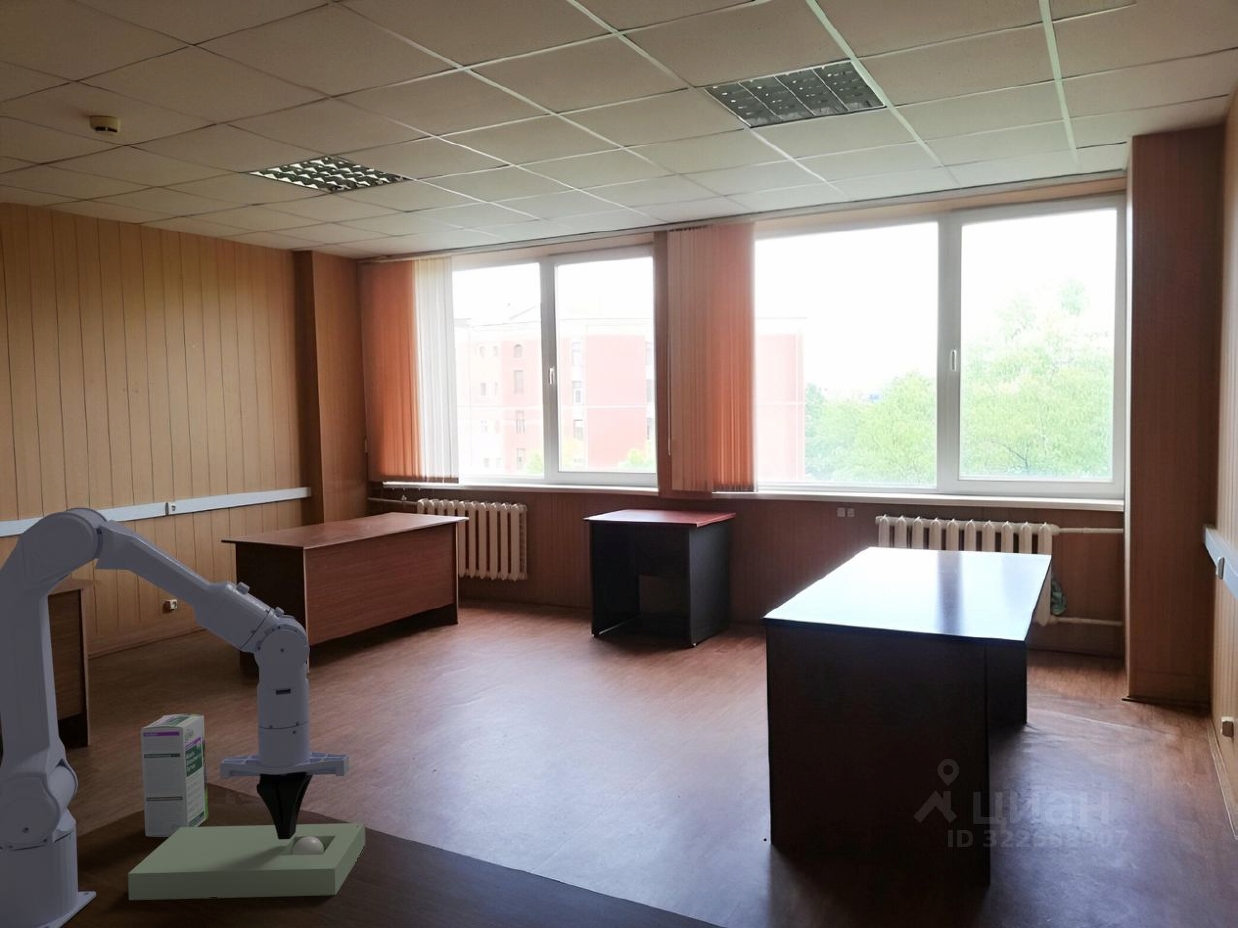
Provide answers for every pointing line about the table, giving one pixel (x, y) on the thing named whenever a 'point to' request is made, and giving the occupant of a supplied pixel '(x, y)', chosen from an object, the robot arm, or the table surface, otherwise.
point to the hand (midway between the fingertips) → (286, 835)
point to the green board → (246, 863)
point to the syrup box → (174, 774)
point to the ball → (308, 847)
